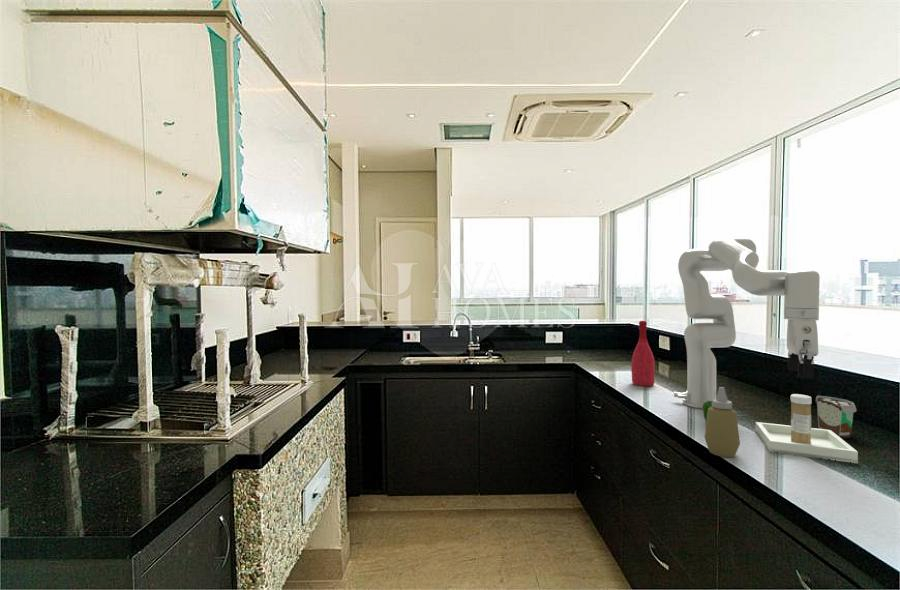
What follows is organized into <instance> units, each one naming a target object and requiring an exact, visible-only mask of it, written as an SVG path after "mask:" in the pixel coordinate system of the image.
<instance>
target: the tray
mask: <svg viewBox="0 0 900 590" xmlns="http://www.w3.org/2000/svg"><path fill="white" fill-rule="evenodd" d="M754 424H755V425H754V426H755V433H756V434H757V436H758V435H759V436H758V437H759V438H760V440H761V441H762V443H763V442H764V443H765V444H764V443H763V444H764V445H765V447H766V446H767V447H766V448H767V449H769V450H768V451H769V452H770V453H775V452H778V453H777V454H783V453H786V454H785V455H790V454H793V455H792V456H798V455H799V456H798V457H805V456H806V457H807V458H814V459H820V458H822V460H828V459H830V460H829V461H835V460H836V461H837V462H845V463H850V462H851V464H858V463H859V457H858V456H859V453H858V451H857V450H856V449H855V448H854V447H852V446H851V445H850V444H849V443H848V442H846V441H845V440H844V439H843V438H840V437H839V436H837V435H836V434H835V433H834V432H832V431H831V430H826V429H820V428H815V427H811V444H802V443H794V442H792V441H791V425H786V424H779V423H778V424H777V423H769V422H768V423H767V422H759V421H755V423H754Z"/></svg>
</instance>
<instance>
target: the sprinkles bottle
mask: <svg viewBox="0 0 900 590" xmlns="http://www.w3.org/2000/svg"><path fill="white" fill-rule="evenodd" d="M790 403H791V407H790V409H791V411H790V413H791V414H790V415H791V416H790V426H791V441H792V442H794V443H802V444H811V428H812V411H811V410H812V407H811V406H812V403H813V402H812V397H811V396H809V395H807V394H806V395H805V394H801V393H800V394H799V393H792V394H791V395H790Z"/></svg>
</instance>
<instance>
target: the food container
mask: <svg viewBox="0 0 900 590" xmlns="http://www.w3.org/2000/svg"><path fill="white" fill-rule="evenodd" d="M815 403H816V407H817V408H816V409H817V410H816V411H817V424H818V429H826V430H831V431H832V432H834V433H835V434H836V435H837V436H839V437H840V438H841V439H843V438H844V439H847V438H848V439H849V438H851V435H852V429H853V428H852V427H853V419H854V413H856V412H857V410H858V409H857V407H856V405H855V403H854V402H853V401H850V400H848V399H843V398H838V397H832V396H826V395H816V397H815Z"/></svg>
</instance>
